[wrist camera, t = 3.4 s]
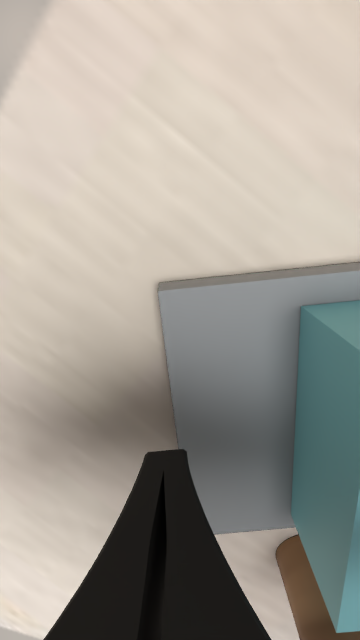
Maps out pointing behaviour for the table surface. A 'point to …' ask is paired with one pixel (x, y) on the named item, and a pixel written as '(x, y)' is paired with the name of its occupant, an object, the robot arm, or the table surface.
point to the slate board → (242, 384)
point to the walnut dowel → (306, 594)
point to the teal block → (330, 455)
